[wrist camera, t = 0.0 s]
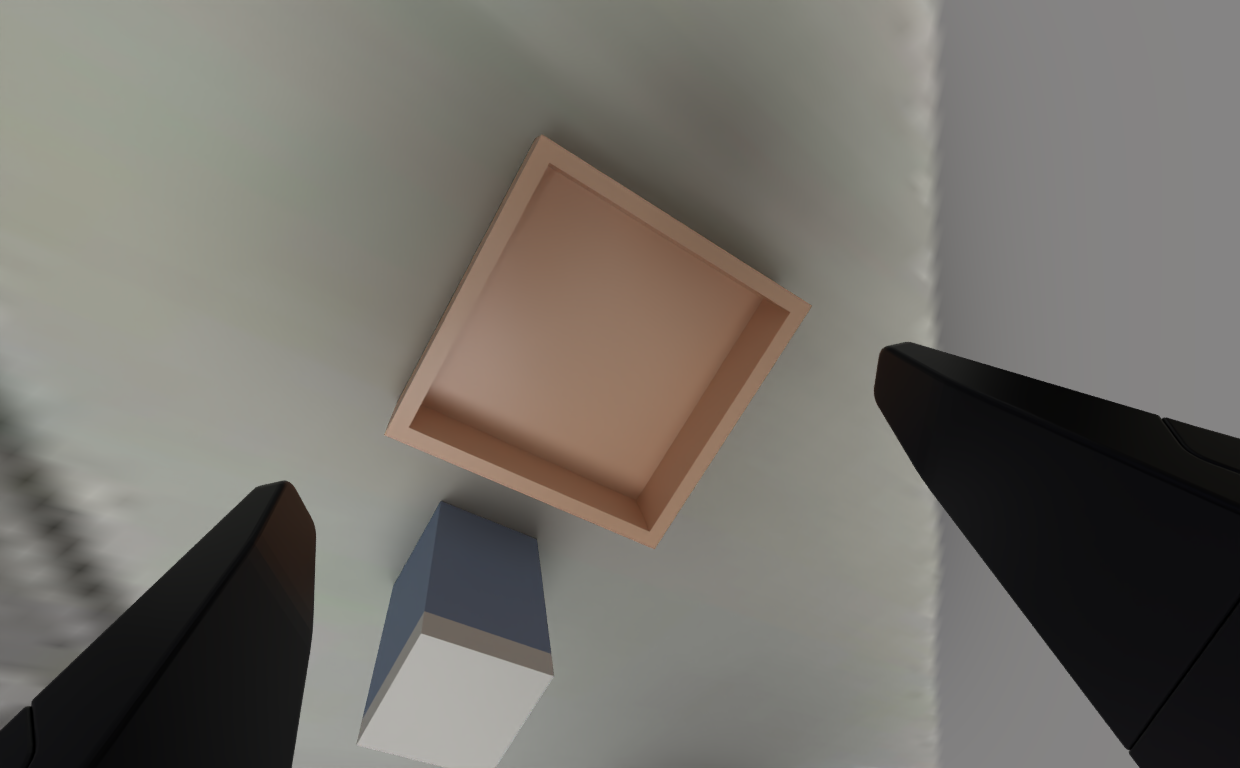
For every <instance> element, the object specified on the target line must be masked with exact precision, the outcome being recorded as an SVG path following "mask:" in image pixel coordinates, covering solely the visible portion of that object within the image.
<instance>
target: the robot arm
mask: <svg viewBox="0 0 1240 768" xmlns="http://www.w3.org/2000/svg"><path fill="white" fill-rule="evenodd" d="M874 396H875V400H876V403H877V405H878V407H879V408H880V410H881V412H882V414H883V415H884V417H885V419H886V420H887V422H888V424H889V425H890V427H891V429H892V430H893V432H894V434H895V435H896V437H897V439H898V440H899V442H900V444H901V445H902V447H903V449H904V450H905V452H906V454H907V455H908V457H909V459H910V460H911V462H912V464H913V465H914V467H915V469H916V470H917V472H918V473H919V475H920V476H921V478H922V479H923V481H924V482H925V484H926V485H927V486H928V488H929V489H930V491H931V492H932V493H933V495H934V496H935V497H936V499H937V500H938V501H939V503H940V504H941V505H942V507H943V508H944V509H945V510H946V512H947V513H948V514H949V516H950V517H951V518H952V520H953V521H954V522H955V524H956V525H957V526H958V528H959V529H960V530H961V532H962V533H963V534H964V535H965V537H966V538H967V540H968V541H969V542H970V544H971V545H972V546H973V547H974V549H975V550H976V551H977V553H978V554H979V555H980V557H981V558H982V559H983V561H984V562H985V563H986V565H987V566H988V567H989V569H990V570H991V571H992V573H993V574H994V575H995V577H996V578H997V579H998V581H999V582H1000V583H1001V585H1002V586H1003V587H1004V588H1005V590H1006V591H1007V592H1008V594H1009V595H1010V596H1011V598H1012V599H1013V600H1014V602H1015V603H1016V604H1017V606H1018V607H1019V608H1020V610H1021V611H1022V612H1023V614H1024V615H1025V616H1026V618H1027V619H1028V620H1029V622H1030V623H1031V624H1032V626H1033V627H1034V628H1035V629H1036V631H1037V632H1038V633H1039V635H1040V636H1041V637H1042V639H1043V640H1044V641H1045V643H1046V644H1047V645H1048V646H1049V648H1050V649H1051V651H1052V652H1053V653H1054V655H1055V656H1056V657H1057V659H1058V660H1059V661H1060V663H1061V664H1062V665H1063V666H1064V668H1065V669H1066V670H1067V672H1068V673H1069V674H1070V676H1071V677H1072V678H1073V680H1074V681H1075V682H1076V684H1077V685H1078V686H1079V687H1080V689H1081V690H1082V692H1083V693H1084V694H1085V696H1086V697H1087V698H1088V700H1089V701H1090V702H1091V703H1092V705H1093V706H1094V707H1095V709H1096V710H1097V711H1098V713H1099V714H1100V715H1101V717H1102V718H1103V719H1104V721H1105V722H1106V723H1107V725H1108V726H1109V727H1110V729H1111V730H1112V731H1113V732H1114V734H1115V735H1116V737H1117V738H1118V739H1119V741H1120V742H1121V743H1122V744H1123V745H1124V747H1125V748H1126V749H1127V750H1130V751H1129V754H1130V756H1131V757H1132V758H1133V760H1134V761H1135V762H1136V764H1137V765H1138V766H1139V768H1240V439H1239V438H1235V437H1232V436H1228V435H1225V434H1221V433H1218V432H1214V431H1211V430H1207V429H1204V428H1200V427H1197V426H1193V425H1190V424H1186V423H1183V422H1180V421H1176V420H1173V419H1169V418H1162V419H1161V418H1160V416H1158V415H1156V414H1152V413H1149V412H1145V411H1142V410H1139V409H1135V408H1132V407H1128V406H1125V405H1122V404H1118V403H1115V402H1112V401H1108V400H1105V399H1101V398H1098V397H1095V396H1091V395H1088V394H1084V393H1081V392H1078V391H1074V390H1071V389H1067V388H1064V387H1061V386H1057V385H1054V384H1051V383H1047V382H1044V381H1040V380H1036V379H1033V378H1030V377H1027V376H1023V375H1020V374H1016V373H1013V372H1010V371H1007V370H1003V369H1000V368H996V367H993V366H990V365H986V364H982V363H979V362H976V361H973V360H969V359H966V358H962V357H959V356H956V355H952V354H948V353H946V352H942V351H939V350H935V349H932V348H929V347H925V346H922V345H918V344H915V343H912V342H903V343H899V344H894V345H890V346H886V347H884V348H883V349H882V350H881V352H880V354H879V359H878V366H877V372H876V379H875V385H874ZM315 554H316V530H315V526H314V522H313V520H312V518H311V516H310V514H309V512H308V511H307V509H306V507H305V505H304V503H303V502H302V500H301V498H300V496H299V494H298V492H297V491H296V489H295V487H294V486H293V485H292V484H291V483H290V482H288V481H279V482H275V483H270V484H265V485H261V486H258V487H256V488H255V489H254V490H252V491H251V492H250V493H249V494H248V495H247V496H246V497H245V498H244V499H243V500H242V501H241V502H240V503H239V504H238V505H237V506H236V507H235V508H233V509H232V510H231V511H230V512H229V513H228V514H227V515H226V516H225V517H224V518H223V519H222V520H221V521H220V522H219V523H218V524H217V525H216V526H215V527H214V528H213V529H211V530H210V531H209V532H208V533H207V534H206V535H205V536H204V537H203V538H202V539H201V540H200V541H199V542H198V543H197V544H196V545H195V546H194V547H193V548H192V549H190V550H189V551H188V552H187V553H186V554H185V555H184V556H183V557H182V558H181V559H180V560H179V561H178V562H177V563H176V564H175V565H174V566H173V567H172V568H171V569H170V570H168V571H167V572H166V573H165V574H164V575H163V576H162V577H161V578H160V579H159V580H158V581H157V582H156V583H155V584H154V585H153V586H152V587H151V588H150V589H149V590H147V591H146V592H145V593H144V594H143V595H142V596H141V597H140V598H139V599H138V600H137V601H136V602H135V603H134V604H133V605H132V606H131V607H130V608H129V609H127V610H126V611H125V612H124V613H123V614H122V615H121V616H120V617H119V618H118V619H117V620H116V621H115V622H114V623H113V624H112V625H111V626H110V627H109V628H108V629H106V630H105V631H104V632H103V633H102V634H101V635H100V636H99V637H98V638H97V639H96V640H95V641H94V642H93V643H92V644H91V645H90V646H89V647H88V648H87V649H85V650H84V651H83V652H82V653H81V654H80V655H79V656H78V657H77V658H76V659H75V660H74V661H73V662H72V663H71V664H70V665H69V666H68V667H67V668H66V669H64V670H63V671H62V672H61V673H60V674H59V675H58V676H57V677H56V678H55V679H54V680H53V681H52V682H51V683H50V684H49V685H48V686H47V687H46V688H45V689H43V690H42V691H41V692H40V693H39V694H38V695H37V696H36V697H35V698H34V699H33V700H32V703H31V706H27V707H25V708H23V709H22V710H21V711H20V712H19V713H18V714H17V715H16V716H15V717H14V718H13V719H12V720H11V721H10V722H9V723H8V724H7V725H6V726H5V727H3V728H2V729H1V730H0V768H292V762H293V756H294V750H295V744H296V737H297V731H298V725H299V718H300V712H301V706H302V699H303V693H304V687H305V680H306V674H307V668H308V661H309V655H310V648H311V641H312V632H313V615H314V585H315Z"/></svg>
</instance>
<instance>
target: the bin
mask: <svg viewBox="0 0 1240 768" xmlns="http://www.w3.org/2000/svg"><path fill="white" fill-rule="evenodd" d="M811 307H812V305H810V304H808V303H807V302H805V301H804V300H802V299H801V298H799V297H797V296H796V295H794V294H793V293H791V292H789V291H788V290H786V289H785V288H783V287H782V286H780V285H778V284H777V283H775V282H774V281H772V280H771V279H769V278H767V277H766V276H764V275H763V274H761V273H760V272H758V271H756V270H755V269H753V268H752V267H750V266H749V265H747V264H745V263H744V262H742V261H741V260H739V259H738V258H736V257H734V256H733V255H731V254H730V253H728V252H726V251H725V250H723V249H722V248H720V247H719V246H717V245H715V244H714V243H712V242H711V241H709V240H708V239H706V238H704V237H703V236H701V235H700V234H698V233H697V232H695V231H693V230H692V229H690V228H689V227H687V226H686V225H684V224H682V223H681V222H679V221H678V220H676V219H675V218H673V217H671V216H670V215H668V214H667V213H665V212H664V211H662V210H660V209H659V208H657V207H656V206H654V205H652V204H651V203H649V202H648V201H646V200H645V199H643V198H641V197H640V196H638V195H637V194H635V193H634V192H632V191H630V190H629V189H627V188H626V187H624V186H623V185H621V184H619V183H618V182H616V181H615V180H613V179H612V178H610V177H608V176H607V175H605V174H604V173H602V172H601V171H599V170H597V169H596V168H594V167H593V166H591V165H589V164H588V163H586V162H585V161H583V160H582V159H580V158H578V157H577V156H575V155H574V154H572V153H571V152H569V151H567V150H566V149H564V148H563V147H561V146H560V145H558V144H556V143H555V142H553V141H552V140H550V139H549V138H547V137H545V136H544V135H540V136H539V137H537V138H536V139H535V140H534V142H533V144H532V146H531V148H530V150H529V152H528V154H527V155H526V157H525V159H524V161H523V163H522V165H521V167H520V169H519V171H518V173H517V175H516V177H515V178H514V180H513V182H512V184H511V186H510V188H509V190H508V192H507V194H506V196H505V198H504V199H503V201H502V203H501V205H500V207H499V209H498V211H497V213H496V215H495V217H494V219H493V220H492V222H491V224H490V226H489V228H488V230H487V232H486V234H485V236H484V238H483V240H482V241H481V243H480V245H479V247H478V249H477V251H476V253H475V255H474V257H473V259H472V261H471V262H470V264H469V266H468V268H467V270H466V272H465V274H464V276H463V278H462V280H461V282H460V283H459V285H458V287H457V289H456V291H455V293H454V295H453V297H452V299H451V301H450V303H449V305H448V306H447V308H446V310H445V312H444V314H443V316H442V318H441V320H440V322H439V324H438V326H437V327H436V329H435V331H434V333H433V335H432V337H431V339H430V341H429V343H428V345H427V347H426V348H425V350H424V352H423V354H422V356H421V358H420V360H419V362H418V364H417V366H416V368H415V369H414V371H413V373H412V375H411V377H410V379H409V381H408V383H407V385H406V387H405V389H404V390H403V392H402V394H401V396H400V398H399V400H398V402H397V404H396V406H395V409H394V412H393V414H392V417H391V419H390V422H389V424H388V427H387V429H386V432H385V434H384V435H385V436H388V437H390V438H393V439H395V440H397V441H400V442H402V443H404V444H407V445H409V446H411V447H414V448H416V449H419V450H421V451H423V452H426V453H428V454H430V455H433V456H435V457H437V458H440V459H442V460H445V461H447V462H449V463H452V464H454V465H456V466H459V467H461V468H464V469H466V470H468V471H471V472H473V473H475V474H478V475H480V476H482V477H485V478H487V479H490V480H492V481H494V482H497V483H499V484H501V485H504V486H506V487H508V488H511V489H513V490H516V491H518V492H520V493H523V494H525V495H527V496H530V497H532V498H534V499H537V500H539V501H542V502H544V503H546V504H549V505H551V506H553V507H556V508H558V509H561V510H563V511H565V512H568V513H570V514H572V515H575V516H577V517H579V518H582V519H584V520H587V521H589V522H591V523H594V524H596V525H598V526H601V527H603V528H605V529H608V530H610V531H613V532H615V533H617V534H620V535H622V536H624V537H627V538H629V539H631V540H634V541H636V542H639V543H641V544H643V545H646V546H648V547H650V548H653V549H655V548H656V546H657V545H658V543H659V542H660V540H661V539H662V537H663V535H664V534H665V532H666V531H667V529H668V528H669V526H670V525H671V523H672V522H673V520H674V518H675V517H676V515H677V514H678V512H679V511H680V509H681V508H682V506H683V505H684V503H685V501H686V500H687V498H688V497H689V495H690V494H691V492H692V491H693V489H694V488H695V486H696V484H697V483H698V481H699V480H700V478H701V477H702V475H703V474H704V472H705V471H706V469H707V467H708V466H709V464H710V463H711V461H712V460H713V458H714V457H715V455H716V454H717V452H718V450H719V449H720V447H721V446H722V444H723V443H724V441H725V440H726V438H727V437H728V435H729V433H730V432H731V430H732V429H733V427H734V426H735V424H736V423H737V421H738V420H739V418H740V416H741V415H742V413H743V412H744V410H745V409H746V407H747V406H748V404H749V403H750V401H751V399H752V398H753V396H754V395H755V393H756V392H757V390H758V389H759V387H760V386H761V384H762V382H763V381H764V379H765V378H766V376H767V375H768V373H769V372H770V370H771V369H772V367H773V365H774V364H775V362H776V361H777V359H778V358H779V356H780V355H781V353H782V352H783V350H784V349H785V347H786V345H787V344H788V342H789V341H790V339H791V338H792V336H793V335H794V333H795V332H796V330H797V328H798V327H799V325H800V324H801V322H802V321H803V319H804V318H805V316H806V315H807V313H808V311H809V310H810V308H811Z"/></svg>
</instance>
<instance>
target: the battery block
mask: <svg viewBox="0 0 1240 768" xmlns="http://www.w3.org/2000/svg"><path fill="white" fill-rule="evenodd" d="M553 677H554V672H553V664H552V656H551V648H550V640H549V632H548V624H547V616H546V608H545V600H544V592H543V584H542V576H541V568H540V560H539V552H538V544H537V539H535V538H532V537H530V536H527V535H525V534H522V533H520V532H517V531H515V530H512V529H510V528H507V527H505V526H502V525H500V524H497V523H495V522H492V521H490V520H487V519H485V518H482V517H480V516H477V515H475V514H472V513H470V512H467V511H465V510H462V509H460V508H457V507H455V506H452V505H450V504H447V503H445V502H442V501H441V502H440V503H439V505H438V507H437V509H436V510H435V512H434V514H433V516H432V518H431V519H430V521H429V523H428V525H427V527H426V528H425V530H424V532H423V534H422V536H421V537H420V539H419V541H418V543H417V545H416V546H415V548H414V550H413V552H412V553H411V555H410V557H409V559H408V561H407V562H406V564H405V566H404V568H403V570H402V571H401V573H400V575H399V577H398V579H397V580H396V582H395V584H394V586H393V590H392V594H391V598H390V603H389V607H388V611H387V615H386V620H385V624H384V628H383V633H382V637H381V641H380V646H379V650H378V654H377V658H376V663H375V667H374V671H373V676H372V680H371V684H370V688H369V693H368V697H367V701H366V706H365V710H364V714H363V719H362V723H361V727H360V731H359V736H358V740H357V744H356V745H358V746H362V747H366V748H370V749H373V750H377V751H381V752H385V753H389V754H393V755H397V756H401V757H405V758H409V759H413V760H417V761H421V762H425V763H428V764H432V765H436V766H440V767H444V768H496V766H497V765H498V763H499V761H500V760H501V758H502V757H503V755H504V754H505V752H506V751H507V749H508V747H509V746H510V744H511V743H512V741H513V740H514V738H515V736H516V735H517V733H518V732H519V730H520V729H521V727H522V726H523V724H524V722H525V721H526V719H527V718H528V716H529V715H530V713H531V711H532V710H533V708H534V707H535V705H536V704H537V702H538V701H539V699H540V697H541V696H542V694H543V693H544V691H545V690H546V688H547V687H548V685H549V683H550V682H551V680H552V679H553Z"/></svg>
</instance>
